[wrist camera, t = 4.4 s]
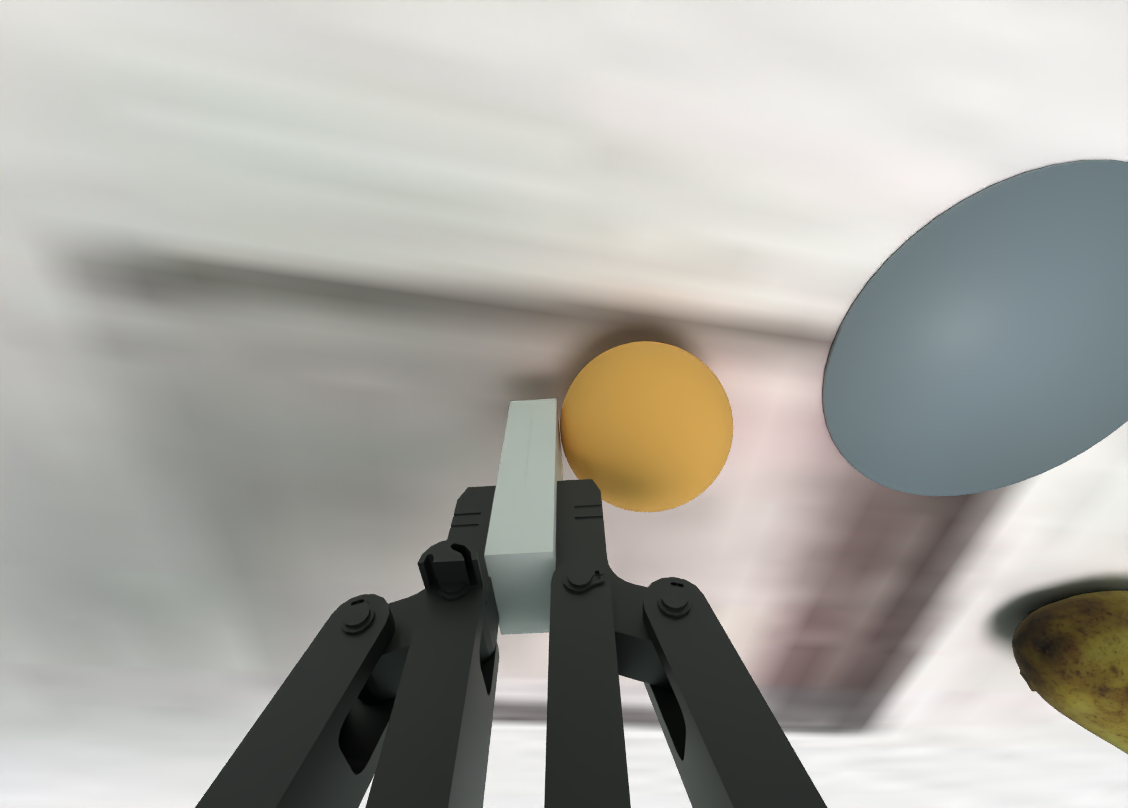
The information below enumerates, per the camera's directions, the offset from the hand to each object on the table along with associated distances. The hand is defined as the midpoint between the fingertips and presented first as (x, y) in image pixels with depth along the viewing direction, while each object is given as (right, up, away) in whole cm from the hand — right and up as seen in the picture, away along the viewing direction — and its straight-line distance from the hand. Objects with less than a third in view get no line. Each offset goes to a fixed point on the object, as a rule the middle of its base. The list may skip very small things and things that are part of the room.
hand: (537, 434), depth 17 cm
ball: (+4, 0, 0) cm, 4 cm away
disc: (+17, +3, +2) cm, 17 cm away
